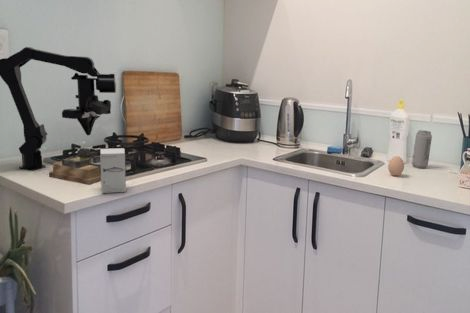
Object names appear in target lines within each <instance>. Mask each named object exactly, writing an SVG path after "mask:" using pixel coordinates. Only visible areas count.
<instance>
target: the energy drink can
mask: <svg viewBox="0 0 470 313" xmlns="http://www.w3.org/2000/svg"><path fill="white" fill-rule="evenodd" d="M432 138H433V135H432V133H431V131H430V130H422V129H420V130H417V132H416V134H415V140H414V144H413V154H412V161H411V165H412V167H413V168H415V169H416V168H417V169H427V167H428V166H429V161H430V153H431V152H430V151H431V146H432Z"/></svg>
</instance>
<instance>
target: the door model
mask: <svg viewBox="0 0 470 313" xmlns="http://www.w3.org/2000/svg"><path fill="white" fill-rule="evenodd" d="M77 157H78V156H77ZM77 157H76V156H71V157H66V158H63V159H61V161H57V162H55V163H54V162H53V163H52V171H49V172H48V178H49V177H50V178H54V179H55V178H56V179H60V180H65V181H70V182H74V183H79V184H85V185H93V184H95V183H98V182H101V164H100V155H98V152H97V151H90V157H91V163H89V159H84V160H80V161H73V160H69V159H73V158H77Z"/></svg>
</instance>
